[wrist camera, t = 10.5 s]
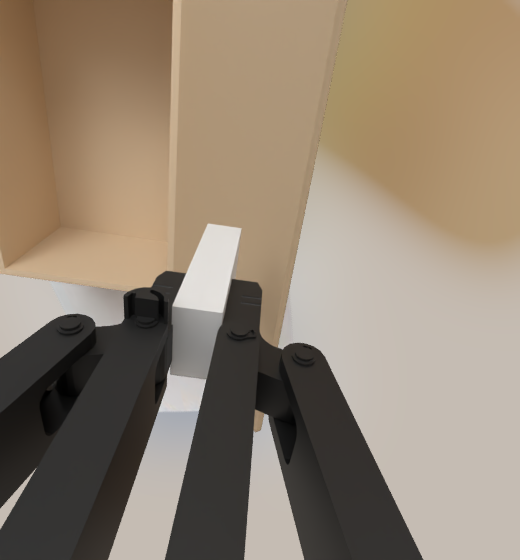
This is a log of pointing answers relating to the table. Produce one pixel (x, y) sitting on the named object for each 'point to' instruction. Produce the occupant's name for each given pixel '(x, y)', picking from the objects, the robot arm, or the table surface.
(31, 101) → the carton
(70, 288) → the table surface
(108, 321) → the table surface
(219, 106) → the carton lid
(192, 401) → the table surface
